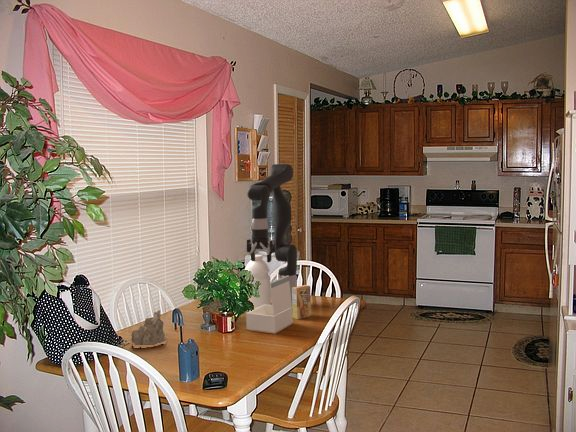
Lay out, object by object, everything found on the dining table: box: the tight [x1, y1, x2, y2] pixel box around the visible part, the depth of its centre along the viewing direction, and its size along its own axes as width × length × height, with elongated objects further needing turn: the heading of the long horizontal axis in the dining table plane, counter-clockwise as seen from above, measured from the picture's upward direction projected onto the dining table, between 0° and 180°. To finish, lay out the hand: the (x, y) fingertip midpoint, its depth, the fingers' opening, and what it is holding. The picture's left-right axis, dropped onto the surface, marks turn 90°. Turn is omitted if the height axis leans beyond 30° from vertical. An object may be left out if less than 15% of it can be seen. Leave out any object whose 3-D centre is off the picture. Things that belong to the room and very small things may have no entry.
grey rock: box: [130, 309, 168, 345], centre depth 253 cm, size 16×16×15 cm
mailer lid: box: [270, 275, 292, 316], centre depth 268 cm, size 1×17×15 cm, turn 151°
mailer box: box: [245, 304, 294, 335], centre depth 272 cm, size 15×17×8 cm
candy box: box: [292, 284, 312, 320], centre depth 286 cm, size 9×4×15 cm, turn 129°
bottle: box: [244, 254, 272, 309], centre depth 306 cm, size 14×14×28 cm
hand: (261, 261), depth 276 cm, fingers open, 8 cm apart
